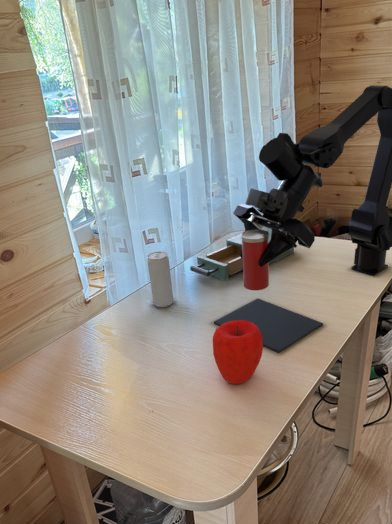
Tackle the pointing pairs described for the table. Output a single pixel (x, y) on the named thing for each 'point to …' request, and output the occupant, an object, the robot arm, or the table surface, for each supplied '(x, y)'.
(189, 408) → the table surface
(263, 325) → the mat
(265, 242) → the tea tin
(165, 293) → the beverage can
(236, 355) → the apple
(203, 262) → the drawer
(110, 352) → the table surface
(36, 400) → the table surface
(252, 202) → the robot arm
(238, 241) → the cabinet
